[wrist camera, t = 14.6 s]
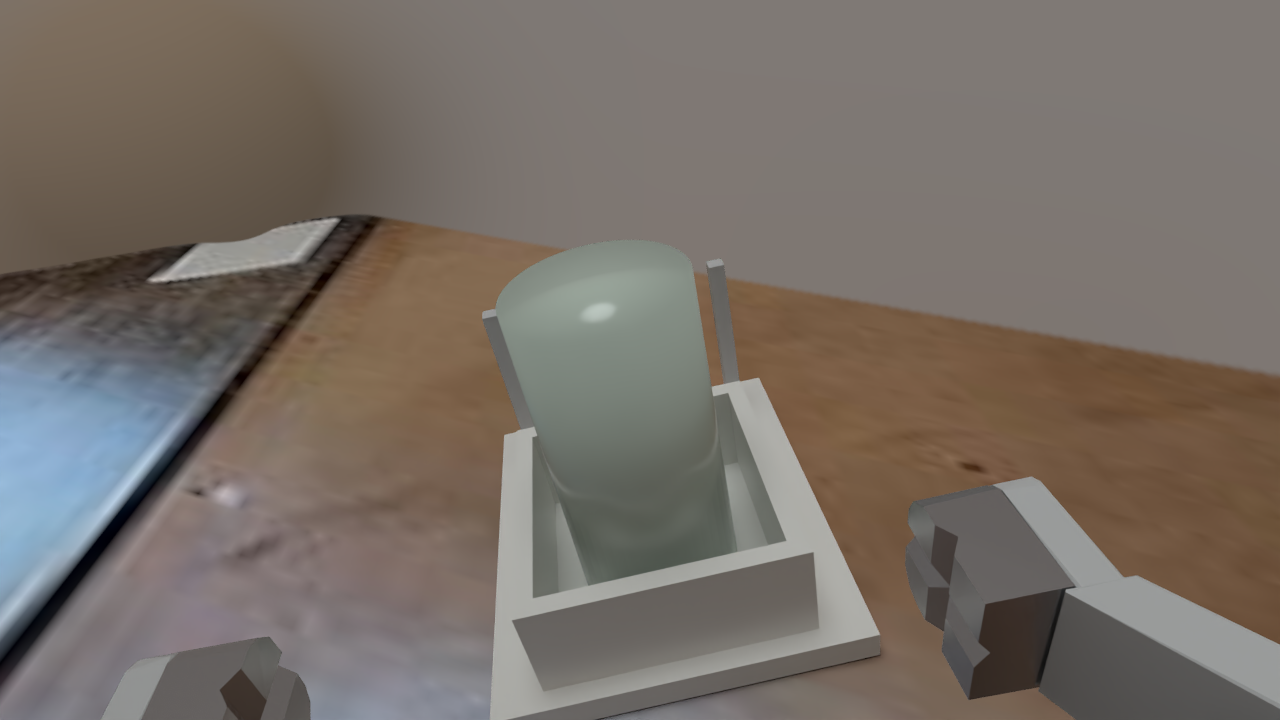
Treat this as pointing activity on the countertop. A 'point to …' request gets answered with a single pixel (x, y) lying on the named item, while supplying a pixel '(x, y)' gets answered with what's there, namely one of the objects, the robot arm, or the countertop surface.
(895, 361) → the countertop surface
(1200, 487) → the countertop surface
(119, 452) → the countertop surface
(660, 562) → the sage green cylinder
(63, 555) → the countertop surface
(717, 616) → the dish rack
